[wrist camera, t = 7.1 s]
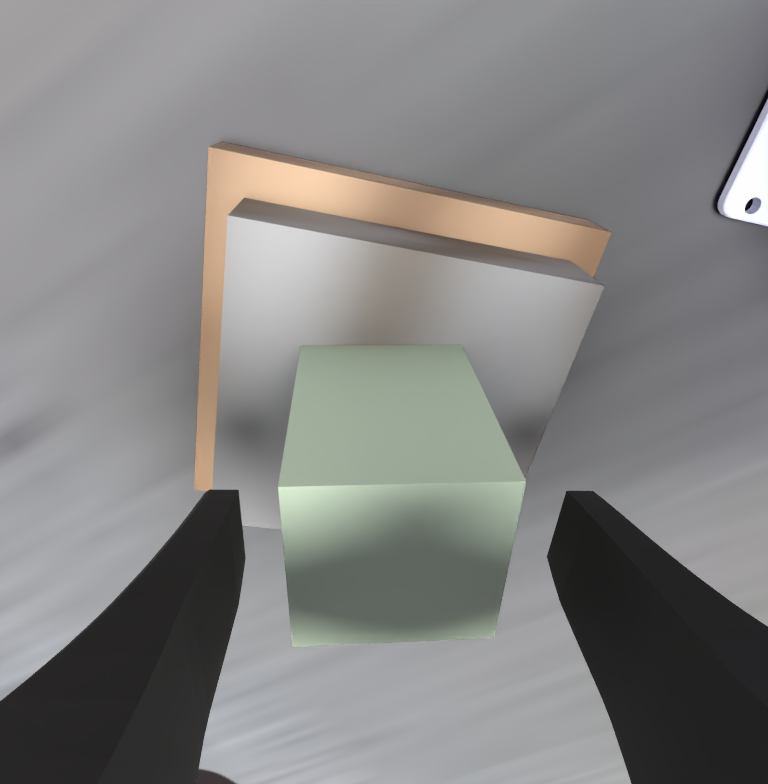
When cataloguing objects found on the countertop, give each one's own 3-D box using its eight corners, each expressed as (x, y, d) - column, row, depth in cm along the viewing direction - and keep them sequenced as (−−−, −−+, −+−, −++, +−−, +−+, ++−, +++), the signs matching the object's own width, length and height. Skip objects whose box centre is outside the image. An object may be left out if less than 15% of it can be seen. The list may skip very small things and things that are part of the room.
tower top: (569, 260, 16) (604, 285, 14) (479, 503, 21) (495, 549, 19) (244, 197, 15) (227, 215, 13) (224, 475, 20) (210, 522, 17)
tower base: (579, 215, 18) (611, 232, 16) (480, 483, 24) (493, 522, 22) (226, 140, 16) (208, 147, 14) (208, 450, 22) (194, 489, 20)
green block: (461, 344, 15) (526, 481, 10) (447, 471, 17) (493, 637, 12) (300, 345, 14) (278, 487, 9) (307, 474, 17) (292, 646, 12)
